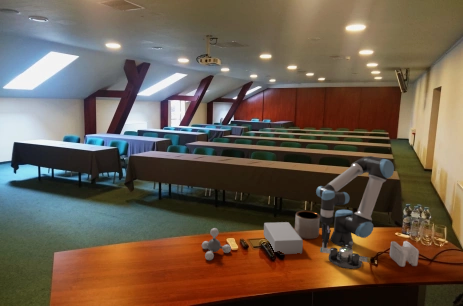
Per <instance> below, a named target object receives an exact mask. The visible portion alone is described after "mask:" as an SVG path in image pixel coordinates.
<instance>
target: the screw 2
mask: <svg viewBox="0 0 463 306" xmlns="http://www.w3.org/2000/svg"><path fill="white" fill-rule="evenodd" d="M359 261H362V263H368V264H371V257H369V256H363V255H360V254H359V253H355V252H353V253H352V258H351V264H352V265H354V266H358V265H359Z"/></svg>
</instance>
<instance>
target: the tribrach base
mask: <svg viewBox="0 0 463 306" xmlns="http://www.w3.org/2000/svg"><path fill="white" fill-rule="evenodd" d="M338 249H339V251H338V252H337V259H336V260H333V259H330V253H328V261H329V262H330V263H331V264H333V265H334V266H336V267H338V268H341V269H345V270H356V269H360V268H361V267H362V266H363V261H359V265H358V266H354V265H352V264H351V258H352V253H354V250H353V248H352V249H350V248H347V247H345V246H340V247H339V248H338Z"/></svg>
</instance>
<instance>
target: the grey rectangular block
mask: <svg viewBox="0 0 463 306" xmlns="http://www.w3.org/2000/svg"><path fill="white" fill-rule="evenodd" d="M338 249H339V248H337V247H334V246H333V247H330V248H328V247H327V252H322V247H321V246H320V249H319V251H320V253H321V254H322V253H325V254H330V259H333V260H336V259H337V252H338Z"/></svg>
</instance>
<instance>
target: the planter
mask: <svg viewBox="0 0 463 306" xmlns="http://www.w3.org/2000/svg"><path fill="white" fill-rule="evenodd" d="M320 216H321V214H319V213H317V212H314V211H311V210H300V211H296V213H295V219H294V220H295V221H294V230H295V231H296V232H297V234H298V235H299V236H300V237H301V239H306V240H313V239H316V238H318V237H319V235H320V222H321V221H320Z"/></svg>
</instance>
